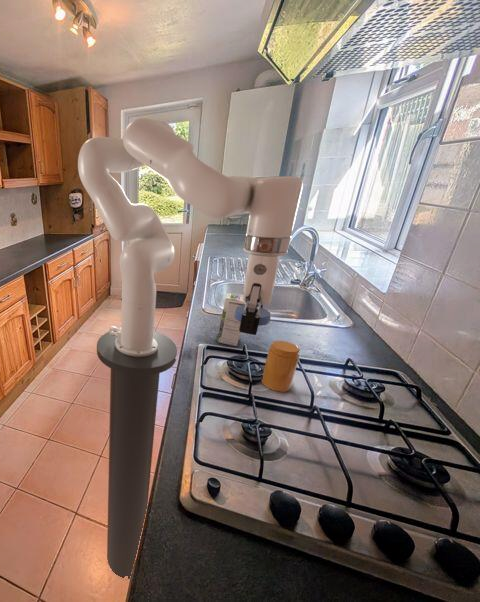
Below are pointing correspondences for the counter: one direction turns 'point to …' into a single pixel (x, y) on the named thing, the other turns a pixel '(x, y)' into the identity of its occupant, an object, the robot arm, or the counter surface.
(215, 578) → the counter surface
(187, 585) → the counter surface
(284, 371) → the honey jar
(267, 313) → the honey lid
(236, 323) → the syrup box
